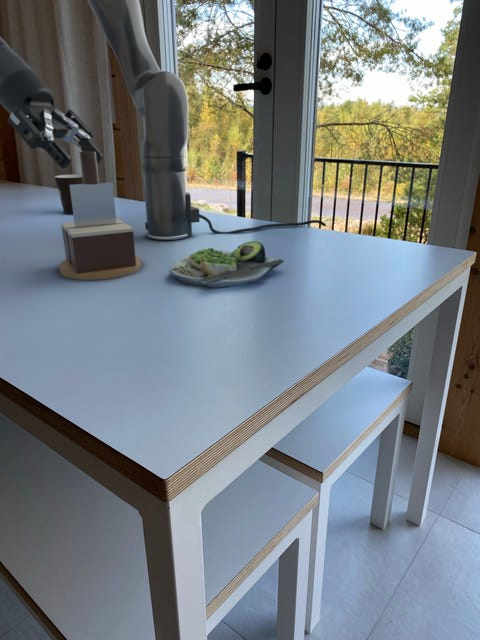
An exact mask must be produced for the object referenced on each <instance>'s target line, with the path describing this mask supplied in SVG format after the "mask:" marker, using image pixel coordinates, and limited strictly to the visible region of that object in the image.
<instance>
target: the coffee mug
mask: <svg viewBox="0 0 480 640" xmlns="http://www.w3.org/2000/svg"><path fill="white" fill-rule="evenodd" d="M54 179H55V182H56V183H55V184H56V187H57V191H58V195H59V198H60V201H61V206H62V209H63V214H64V215H72V216H74V215H73V207H72V200H71V192H70V185H73V184H83V178H82V174H60V175H55V176H54Z"/></svg>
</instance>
